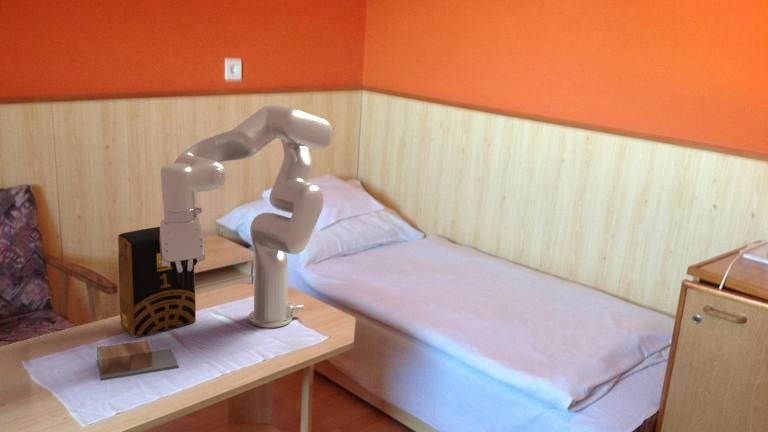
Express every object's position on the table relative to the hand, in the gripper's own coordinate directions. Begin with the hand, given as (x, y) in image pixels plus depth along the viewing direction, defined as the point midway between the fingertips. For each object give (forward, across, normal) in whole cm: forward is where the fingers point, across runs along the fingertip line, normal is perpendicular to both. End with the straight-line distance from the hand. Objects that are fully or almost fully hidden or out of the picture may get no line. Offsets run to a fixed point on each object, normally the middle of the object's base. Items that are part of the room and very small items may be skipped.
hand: (185, 284), depth 181 cm
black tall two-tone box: (+20, +4, -20) cm, 29 cm away
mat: (+19, +13, +2) cm, 23 cm away
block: (+16, +10, +2) cm, 19 cm away
